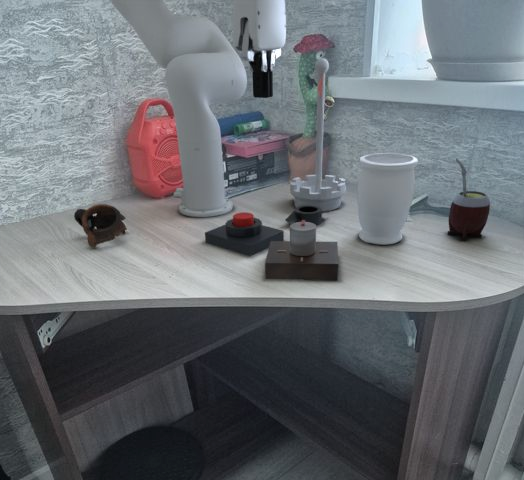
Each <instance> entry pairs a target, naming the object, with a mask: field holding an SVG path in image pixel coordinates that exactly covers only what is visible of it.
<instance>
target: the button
mask: <svg viewBox="0 0 524 480" xmlns="http://www.w3.org/2000/svg"><path fill="white" fill-rule="evenodd" d="M254 218H255V216H254V214H253V213H251V212H247V211H246V212H237V213H234V214H233V215H232V219H233V225H234V226H239V227H245V226H251V225H253V224H254Z"/></svg>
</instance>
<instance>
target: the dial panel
mask: <svg viewBox="0 0 524 480" xmlns="http://www.w3.org/2000/svg"><path fill="white" fill-rule="evenodd" d="M264 269H265V270H264V273H265V274H264V275H265V277H264V278H265V280H297V281H298V280H299V281H300V280H301V281H327V282H328V281H331V282H332V281H338V279H339V277H338V276H339V247H338V241H316V251H315V253H314V254H312V255H309V256H296V255H293V254H291V253H290V240H287V241H286V240H284V241H271V242H270V246H269V248H268V251H267V254H266V258H265V261H264Z"/></svg>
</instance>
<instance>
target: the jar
mask: <svg viewBox="0 0 524 480" xmlns="http://www.w3.org/2000/svg"><path fill="white" fill-rule="evenodd" d="M418 164H419V158H417V156H415V155H411V154H406V153H399V152H378V153H377V152H376V153H370V154H365V155H363V156H360V157H359V165H360V166H361V170H360V173H359V177H358V182H357V188H356V189H357V191H356V202H357V208H358V209H357V214H358V215H357V216H358V222H359V225H360V227H361V230H360V231H359V235H358V237H359V238H360V240H361V241H363V242H365V243H368V244H372V245H379V246H381V245H382V246H385V245H387V246H388V245H393V244H397V243H398V242H400V241H401V240H402V239H403V233H402V232H401V231H402V230H403V228H404V227H405V224H406V223H407V220H408V217H409V213H410V210H411V208H412V207H411V206H412V204H413V200H414V194H415V187H416V186H415V185H416V183H415V182H416V181H415V180H416V178H415V171H414V170H415V168H416V167H417V166H418Z"/></svg>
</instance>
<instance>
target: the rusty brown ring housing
mask: <svg viewBox="0 0 524 480" xmlns="http://www.w3.org/2000/svg"><path fill="white" fill-rule="evenodd" d="M73 217H74V220H75V221H76V222H77V224H78V225H80V227H82V230H83V232H84V233H85V234H86V236H87V244H88V246H89V247H90V248H93V249H96V247H97V245H100V244H101V245H102V244H104V243H107V242H110V241H113V240H114V239H116V237H119V236H120V234H121V233H122V234H124V235H125V234H126V231H127V230H128V228H127V227H126V225H125V223H124V222H123V221H125V220H126V218H127V217H126V216H125V215H124V214H122V213H121V211H120V210H119V209H118V208H116V207H115V206H113V205H111V204H106V203H102V204H100V203H99V204H94V205H92V206H90V207H89V208H87V209H86V208H85V209H84V208H78V209H76V211H75V212H74V214H73Z"/></svg>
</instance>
